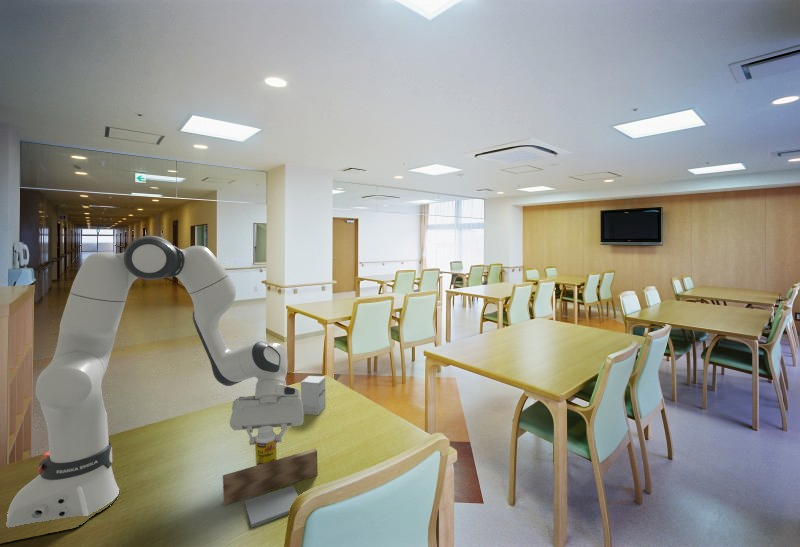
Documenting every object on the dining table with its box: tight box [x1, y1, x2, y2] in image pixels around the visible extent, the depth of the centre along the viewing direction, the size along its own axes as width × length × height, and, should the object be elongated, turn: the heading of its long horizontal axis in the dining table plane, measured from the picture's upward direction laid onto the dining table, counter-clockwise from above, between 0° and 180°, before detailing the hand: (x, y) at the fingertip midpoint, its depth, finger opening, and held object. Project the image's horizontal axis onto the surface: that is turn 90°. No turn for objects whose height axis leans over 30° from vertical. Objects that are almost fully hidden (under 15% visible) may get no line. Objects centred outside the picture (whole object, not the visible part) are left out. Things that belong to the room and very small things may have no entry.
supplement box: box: [300, 375, 327, 416], centre depth 145 cm, size 7×7×13 cm
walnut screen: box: [222, 448, 319, 506], centre depth 99 cm, size 24×2×7 cm, turn 121°
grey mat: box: [244, 485, 299, 528], centre depth 92 cm, size 12×9×1 cm
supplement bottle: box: [254, 426, 278, 466], centre depth 104 cm, size 6×6×10 cm
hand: (265, 443), depth 104 cm, fingers closed on supplement bottle, 6 cm apart
